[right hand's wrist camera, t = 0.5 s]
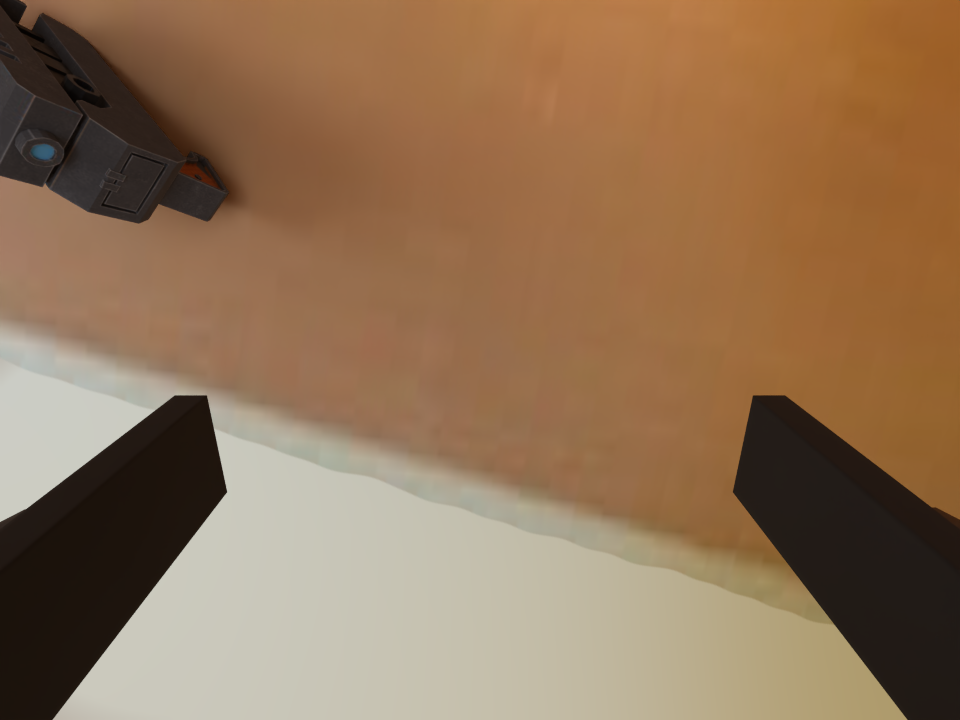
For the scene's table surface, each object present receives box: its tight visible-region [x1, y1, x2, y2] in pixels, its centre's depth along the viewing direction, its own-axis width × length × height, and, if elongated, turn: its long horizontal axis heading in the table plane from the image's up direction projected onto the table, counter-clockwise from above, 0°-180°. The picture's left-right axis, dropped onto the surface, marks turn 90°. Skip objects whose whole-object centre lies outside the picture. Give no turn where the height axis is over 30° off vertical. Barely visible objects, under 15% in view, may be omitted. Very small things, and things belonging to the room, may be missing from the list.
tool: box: [0, 0, 229, 223], centre depth 36 cm, size 6×19×15 cm, turn 48°
